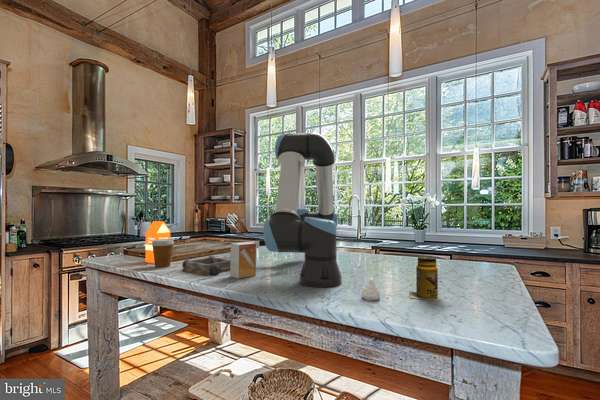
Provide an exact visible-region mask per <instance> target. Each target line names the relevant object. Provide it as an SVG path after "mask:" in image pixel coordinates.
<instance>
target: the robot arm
mask: <svg viewBox="0 0 600 400" xmlns="http://www.w3.org/2000/svg"><path fill="white" fill-rule="evenodd" d="M274 146H275V147H274V156H275V159H276V160H277V161H278V164H280V170H279V178H278V184H277V193H276V200H275V210H274V211H273V212H272V213H271V214H270V217H269V219H267V220H265V221H264V223H263V239H254V241H250V242H251V243H256V249H259V247H266V249H267V250H268V251H269V252H273V253H275V252H276V253H278V254H279V253H296V254H298V253H304V261H303V264H302V268H301V270H300V273H299V283H300V284H302V285H303V286H306V287H314V288H315V287H316V288H330V287H335V286H340V285H341V284H342V274H341V271H340V267H339V265H338V261H337V260H338V259H337V251H338V250H337V235H338V233H337V226H338V224H339V217H338V216H339V215H338V212H337V211H335V210H334V208H335V207H334V182H333V181H334V180H333V179H334V177H333V176H334V174H333V165H334V164H335V160H336V159H335V152H334V149H333V147H332V145H331V144H330V142H329V141H328V139H326V138H325V137H324V136H323V134H320V133H318V132H315V131H314V132H313V131H311V132H292V133H290V132H287V133H280V134H279V135H278V136H277V138H276V140H275V145H274ZM306 160H307V161H308V160H311V161H312V163H313V165H314V167H315V178H316V195H317V211H310V210H309V208H307V207H306V208H305V207H298V205H299V194H300V184H301V174H302V173H301V172H302V167H304V165H305V163H306Z"/></svg>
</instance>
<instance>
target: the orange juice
mask: <svg viewBox="0 0 600 400" xmlns="http://www.w3.org/2000/svg"><path fill="white" fill-rule="evenodd" d="M159 239H171V230H170V229H169V227H168V226H167V224H166V223H165V221H160V220H159V221H158V220H157V221H156V220H153V221H152V222H151V224H150V226H149V227H148V228H147V230H146V232H145V249H144V250H145V258H144V259H145V263H150V264H151V263H152V264H155V262H154V254H153V246H152V244H151V243H152V241H153V240H159Z"/></svg>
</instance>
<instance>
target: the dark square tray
mask: <svg viewBox="0 0 600 400" xmlns="http://www.w3.org/2000/svg"><path fill="white" fill-rule="evenodd" d="M230 261H231V259H230V258H229V259H228V258H222V257H216V256H215V255H209V256H207V257H205V258H198V259H194V260H193V259H191V260H189V259H185V260H184V261H183V262H182V264H181V265H182V272H186V273H192V274H197V275H203V276H207V277H208V275H209V276H213V275H214V276H218V275H219V274H220V273H221V274H222V273H225V272H230Z"/></svg>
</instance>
